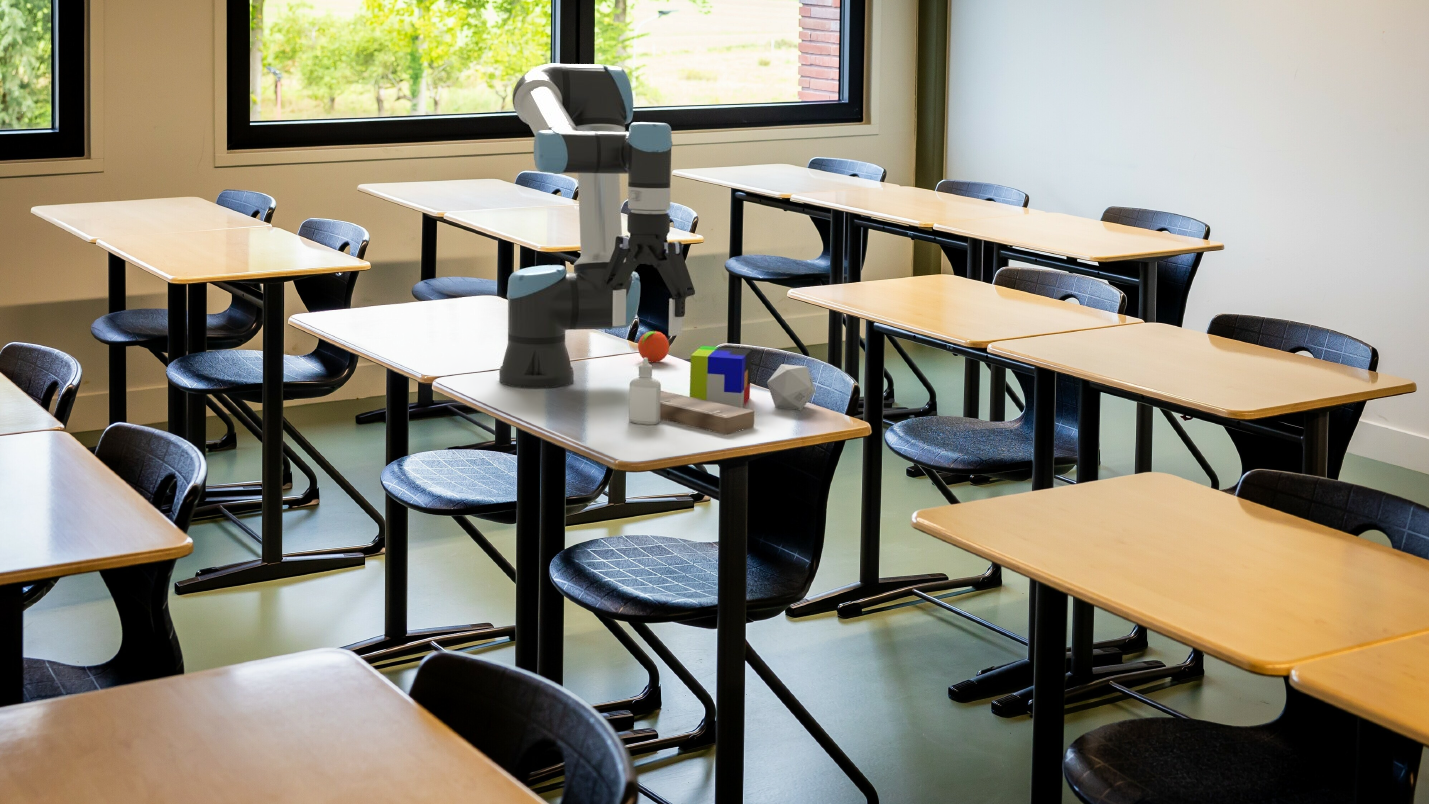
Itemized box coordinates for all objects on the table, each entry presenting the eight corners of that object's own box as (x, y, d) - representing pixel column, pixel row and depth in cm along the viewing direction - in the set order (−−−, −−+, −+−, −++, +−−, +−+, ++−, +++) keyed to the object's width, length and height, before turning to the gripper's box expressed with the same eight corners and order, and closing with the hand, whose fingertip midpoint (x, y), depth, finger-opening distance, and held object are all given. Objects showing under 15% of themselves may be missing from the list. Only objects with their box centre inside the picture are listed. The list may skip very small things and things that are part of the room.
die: (786, 417, 267) (819, 376, 267) (752, 389, 270) (784, 348, 270) (797, 424, 275) (830, 384, 275) (764, 396, 278) (795, 357, 278)
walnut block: (631, 412, 265) (631, 396, 264) (659, 405, 271) (659, 389, 270) (726, 434, 251) (726, 417, 250) (753, 426, 257) (754, 410, 256)
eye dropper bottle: (646, 427, 254) (647, 362, 251) (625, 421, 258) (626, 357, 255) (663, 423, 257) (665, 359, 254) (642, 417, 261) (644, 354, 258)
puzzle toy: (740, 410, 270) (742, 358, 268) (689, 406, 272) (690, 355, 269) (749, 399, 279) (751, 349, 277) (700, 395, 281) (701, 346, 279)
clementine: (655, 367, 306) (655, 335, 305) (628, 363, 310) (629, 331, 308) (674, 361, 313) (675, 330, 311) (648, 357, 316) (649, 326, 315)
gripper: (583, 207, 254) (582, 323, 258) (688, 217, 238) (685, 341, 243) (612, 205, 259) (610, 319, 264) (716, 215, 244) (713, 336, 249)
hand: (646, 330), depth 253 cm, fingers open, 13 cm apart
